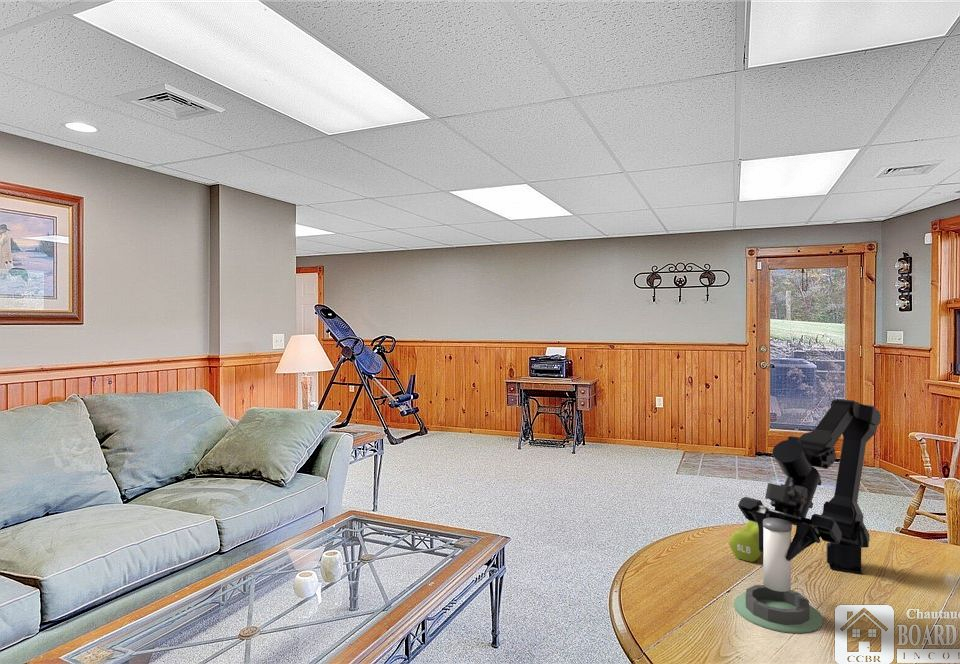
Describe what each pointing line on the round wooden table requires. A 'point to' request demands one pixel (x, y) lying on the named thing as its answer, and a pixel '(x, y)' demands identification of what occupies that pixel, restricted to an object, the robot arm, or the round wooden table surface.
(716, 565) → the round wooden table surface
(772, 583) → the white gray-capped cylinder
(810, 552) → the round wooden table surface
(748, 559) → the dumbbell
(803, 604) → the green round disc
